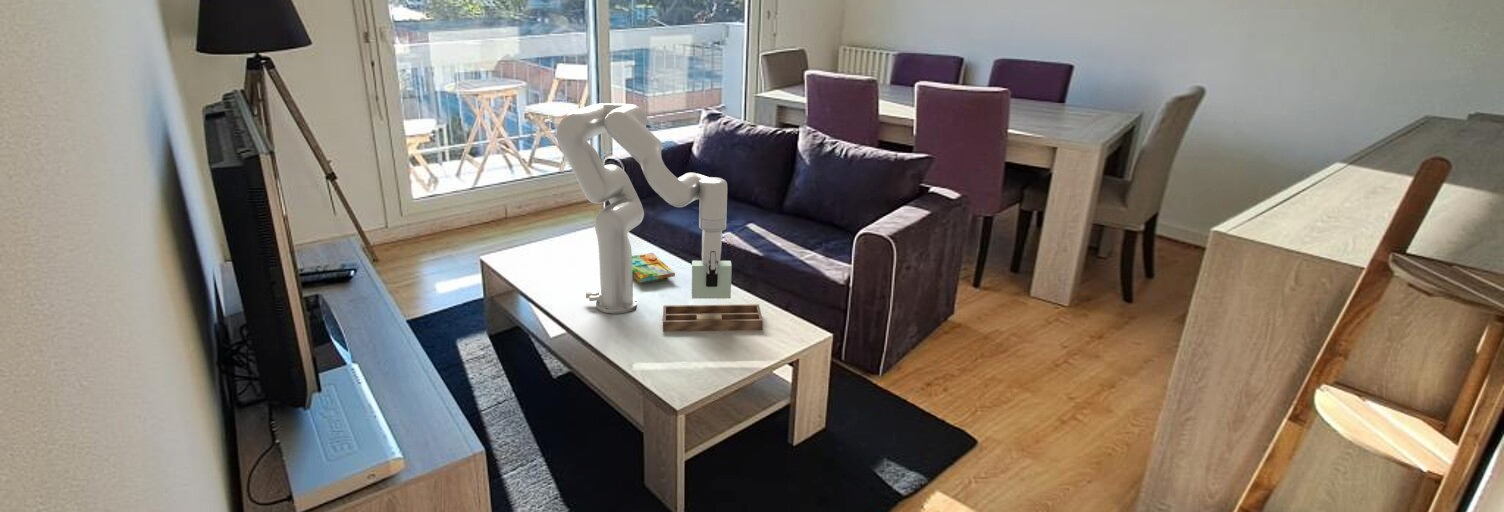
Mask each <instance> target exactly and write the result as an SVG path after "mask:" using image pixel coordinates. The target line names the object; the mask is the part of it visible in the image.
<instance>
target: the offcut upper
mask: <svg viewBox="0 0 1504 512" xmlns="http://www.w3.org/2000/svg"><path fill="white" fill-rule="evenodd" d="M697 320H722V316H721V314H720V315H697Z"/></svg>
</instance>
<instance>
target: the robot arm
mask: <svg viewBox="0 0 1504 512" xmlns="http://www.w3.org/2000/svg"><path fill="white" fill-rule="evenodd" d="M647 124H648V117H647V114H646V111H644V109H643V108H642V107H640V106H638V105H637V104H631V103H596V104H591V105H588V106H584V107H580V108H578V109H575V110H573V111H570V112H569V113H567V114H566V115H565V116H563V118H562V119H561V120H560V122H559V124H558V126H557V130H556V138H557V143H558V147H559V148H560V150H561V152H562V154H563V155H564V157H565V158H566V161H567V162H568V164H569V166H570V168H571V169H572V172H573V174H574V176H575V178H576V180H577V182H578V184H579V187H580V188H581V191H582V192H583V194H584V197H585V198H586V199H587V201H589V202H590V203H592V204H595V205H596V204H597V205H598V204H603V203H605V202H609V203H610V204H608V205H606V206H604V207H603V208H602V209H601V210H599V212H598V213H597V214H596V216H595V219H594V229H595V230H594V231H595V234H596V239H597V245H598V260H599V280H600V281H599V282H600V289H599V290H596V292H595V291H594V292H593V291H587V292H585V298H586V299H588V300H589V302H595V307H596V309H597V310H599V311H600V312H602V313H607V314H617V315H618V314H625V313H628V312H631V311H633V310H636V308H637V307H638V303H639V299H638V298H637V297H636V296H634V290H633V289H634V287H633V276H632V256H633V255H632V254H633V253H632V252H633V251H632V245H631V241H630V239H629V235H628V234H629V232H630V231H632V230H634V228H636V227H638V226H639V225H640V224H641V223H642V221H643V220H644V216H645V212H644V208H643V204H642V202H641V200H640V197H639V196H638V193H637V191H636V189H635V188H634V185H633V184H632V181H631V179H630V177H629V175H628V174H627V172H626V171H625V170H624V169H623V168H622V167H620V166H619V165H617V164H611V163H610V164H609V163H608V164H605V165H604V164H603V161H602V160H601V157H600V156H599V153H598V152H597V150H596V149H595V148H594V147H593V146H592V145H591V144H590V143H589V141H588V140H590V138H593V137H595V136H599V135H602V134H608V135H609V136H610V137H611V138H612V140H614V141H615V142H616V143H617V144H618V145H619V146H620V147H621V148H622V149H624V150H625V151H626V152H627V153H628V154H629V155H630V156H631V157H632V158H633V159H634V160H635V161H636V162H637V163H638V164H639V165H640V167H641V170H642V173H643V175H644V177H645V180H646V181H647V183H648V185H649V186H650V188H651V189H652V190H653V191H654V192H655V193H656V194H658V196H659V197H660V198H662V199H663V200H664V201H665V202H666V203H668V205H671V206H673V207H675V208H683V207H686V206H687V205H689V204H691V203H693V202H694V201H696V200H697V201H698V200H699V208H698V209H699V214H698V215H699V216H698V228H699V229H700V230H701V231H702V233H701V234H702V235H701V261H702V263H703V264H704V265H705V264H707V273H706V286H707V287H717V283H718V273H717V264H718V265H719V264H720V261H721V257H722V256H721V255H722V241H723V240H722V237H723V235H722V232H723V231H724V230H726V229H727V214H728V213H727V212H728V211H727V207H728V183H727V181H726V179H723V178H722V177H716V176H715V177H713V176H710V177H709V176H706V175H704V174H700V173H698V172H697V173H696V172H686V173H684V174H683V175H681V176H679V177H677V176H676V175H674V174H673V173H672V172H671V171H670V170H669V169H668V167H667V166H666V165H665V162H664V160H663V158H662V148H663V143H662V142H661V140H660V139H659V138H658V137H656V135H654V133H653V132H651V131H650V130H649V129H648V128H647ZM709 261H711V263H709ZM715 261H716V263H715ZM709 266H711V267H710V268H709Z"/></svg>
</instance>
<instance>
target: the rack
mask: <svg viewBox="0 0 1504 512" xmlns="http://www.w3.org/2000/svg"><path fill="white" fill-rule="evenodd" d="M662 307H663V308H662V332H664V333H665V332H670V333H671V332H672V333H673V332H719V331H720V332H722V331H723V332H725V331H726V332H727V331H730V332H731V331H763V325H764V319H763V316H762V311H761V308H760V304H757V303H755V304H754V303H752V304H751V303H750V304H748V303H747V304H691V305H690V304H689V305H687V304H686V305H685V304H683V305H677V304H676V305H674V304H673V305H669V304H668V305H667V304H666V305H665V304H664V305H663V306H662ZM720 314H721V316H722V320H697V315H720Z"/></svg>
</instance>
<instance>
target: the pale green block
mask: <svg viewBox="0 0 1504 512" xmlns="http://www.w3.org/2000/svg"><path fill="white" fill-rule="evenodd" d="M709 263H711V261H709ZM715 263H716V261H715ZM710 267H711V266H709V268H710ZM732 269H733V267H732V261H731V260H720V264H719V265H718V264H717V273H718V283H717V287H707V286H706V273H707V264H705V265H704V264H703V263H702V260H692V261H691V299H694V300H695V299H701V300H702V299H710V300H711V299H716V300H717V299H723V300H724V299H726V300H727V299H731V298H732V295H731V294H732V272H733V271H732Z"/></svg>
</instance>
